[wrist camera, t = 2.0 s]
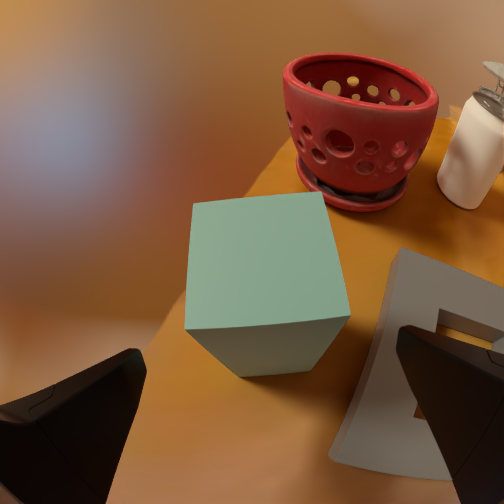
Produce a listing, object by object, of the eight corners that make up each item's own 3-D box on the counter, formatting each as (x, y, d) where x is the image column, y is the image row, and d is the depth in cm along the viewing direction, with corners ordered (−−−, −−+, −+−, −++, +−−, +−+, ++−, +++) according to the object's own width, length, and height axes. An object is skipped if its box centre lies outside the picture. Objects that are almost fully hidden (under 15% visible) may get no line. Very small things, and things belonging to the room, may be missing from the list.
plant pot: (393, 147, 30) (413, 61, 20) (415, 232, 23) (466, 128, 13) (289, 135, 32) (287, 44, 22) (279, 218, 25) (274, 97, 15)
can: (467, 174, 27) (500, 99, 17) (486, 214, 23) (532, 135, 13) (428, 167, 28) (458, 82, 17) (445, 208, 24) (490, 117, 14)
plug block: (310, 370, 18) (350, 315, 8) (238, 377, 18) (184, 329, 8) (302, 305, 21) (321, 191, 11) (236, 311, 21) (193, 203, 11)
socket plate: (487, 477, 10) (505, 479, 8) (326, 455, 15) (333, 461, 12) (519, 312, 17) (534, 302, 15) (391, 262, 22) (401, 246, 20)
